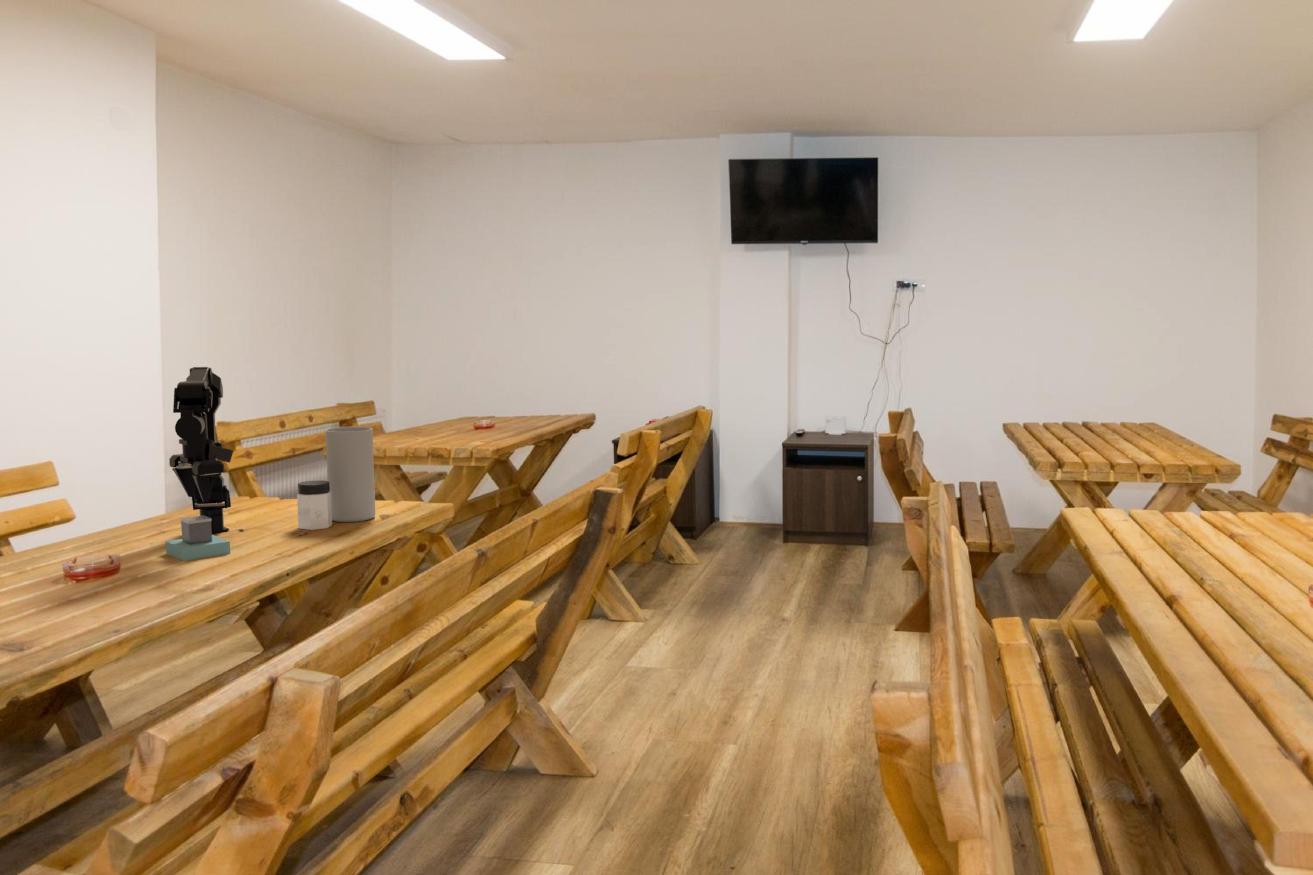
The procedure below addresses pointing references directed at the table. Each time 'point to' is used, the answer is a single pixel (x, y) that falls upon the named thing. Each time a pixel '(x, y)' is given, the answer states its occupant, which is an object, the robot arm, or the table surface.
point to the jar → (314, 505)
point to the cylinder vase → (351, 473)
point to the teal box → (197, 548)
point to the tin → (196, 529)
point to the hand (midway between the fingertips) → (198, 499)
